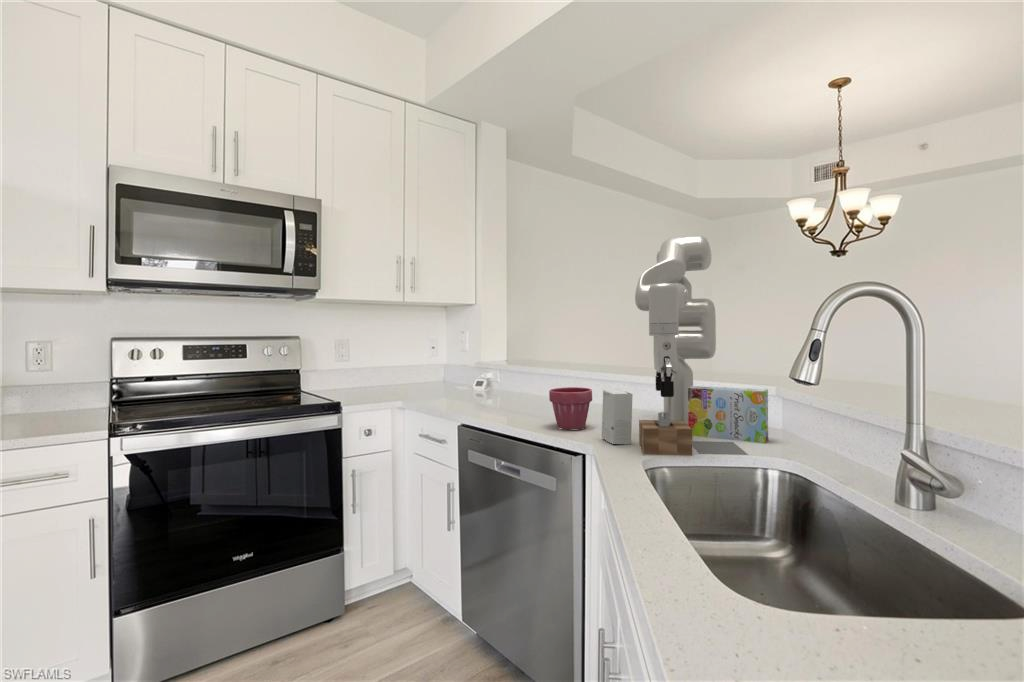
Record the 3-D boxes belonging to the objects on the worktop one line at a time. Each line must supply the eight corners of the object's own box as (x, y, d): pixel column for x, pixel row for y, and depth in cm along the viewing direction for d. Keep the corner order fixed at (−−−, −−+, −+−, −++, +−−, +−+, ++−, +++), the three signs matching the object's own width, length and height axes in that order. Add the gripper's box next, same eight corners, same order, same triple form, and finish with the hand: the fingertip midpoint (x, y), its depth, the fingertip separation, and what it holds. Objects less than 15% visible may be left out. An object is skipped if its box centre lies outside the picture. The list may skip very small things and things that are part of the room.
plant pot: (541, 426, 166) (540, 389, 165) (573, 422, 174) (572, 385, 173) (568, 434, 154) (568, 393, 154) (601, 428, 162) (601, 389, 161)
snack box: (768, 441, 141) (768, 388, 141) (766, 445, 136) (765, 390, 136) (692, 433, 153) (691, 384, 152) (687, 436, 148) (687, 386, 148)
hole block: (639, 444, 139) (639, 419, 139) (683, 445, 137) (683, 420, 137) (643, 455, 127) (643, 428, 127) (692, 456, 125) (692, 429, 125)
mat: (688, 442, 141) (688, 441, 141) (732, 443, 139) (732, 441, 139) (698, 455, 127) (698, 453, 127) (748, 456, 125) (748, 454, 125)
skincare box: (601, 439, 146) (600, 389, 146) (620, 438, 148) (619, 388, 147) (613, 445, 138) (613, 393, 138) (633, 444, 139) (633, 392, 139)
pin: (669, 449, 133) (668, 412, 133) (670, 451, 130) (670, 414, 130) (657, 448, 134) (657, 412, 134) (659, 451, 131) (659, 414, 131)
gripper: (684, 331, 122) (685, 399, 123) (672, 328, 139) (673, 388, 140) (653, 331, 123) (654, 399, 124) (645, 328, 140) (646, 388, 141)
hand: (664, 393), depth 132 cm, fingers open, 9 cm apart
